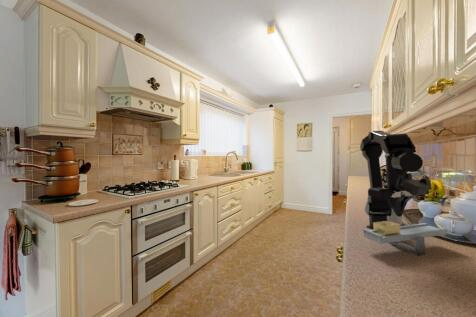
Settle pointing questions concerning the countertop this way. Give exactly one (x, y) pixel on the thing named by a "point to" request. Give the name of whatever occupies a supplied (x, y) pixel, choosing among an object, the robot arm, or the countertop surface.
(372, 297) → the countertop surface
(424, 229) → the beam
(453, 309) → the countertop surface
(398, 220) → the cup
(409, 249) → the stand
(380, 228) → the pale yellow block
